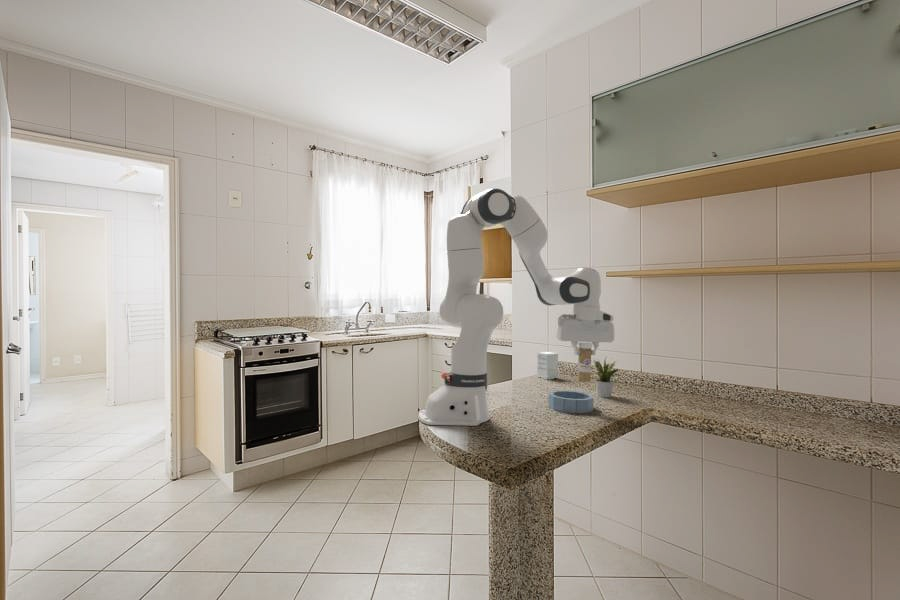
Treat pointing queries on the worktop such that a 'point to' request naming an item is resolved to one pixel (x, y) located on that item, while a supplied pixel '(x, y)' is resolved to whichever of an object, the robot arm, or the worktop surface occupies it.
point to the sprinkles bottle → (584, 362)
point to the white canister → (547, 365)
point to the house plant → (604, 379)
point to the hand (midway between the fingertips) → (584, 354)
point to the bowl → (571, 401)
